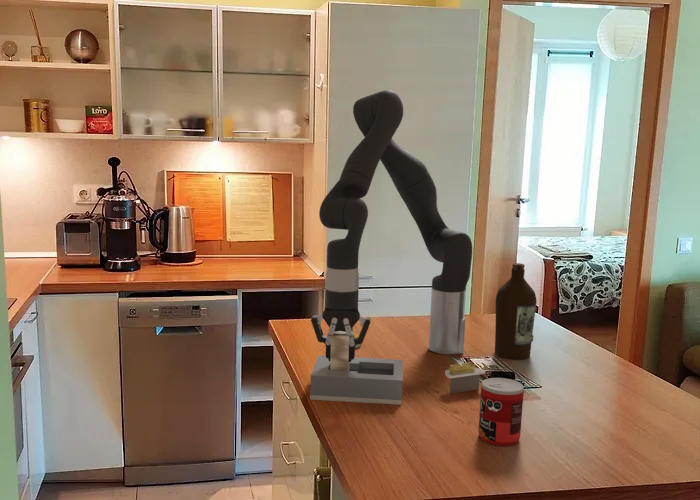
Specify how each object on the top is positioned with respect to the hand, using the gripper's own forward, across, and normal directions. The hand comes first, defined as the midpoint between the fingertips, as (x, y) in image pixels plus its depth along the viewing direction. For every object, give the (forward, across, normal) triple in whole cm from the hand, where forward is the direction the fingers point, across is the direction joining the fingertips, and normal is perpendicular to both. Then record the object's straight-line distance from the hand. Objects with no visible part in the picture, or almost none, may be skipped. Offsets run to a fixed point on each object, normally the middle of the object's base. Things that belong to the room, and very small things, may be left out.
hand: (340, 360), depth 154 cm
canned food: (+7, -33, +21) cm, 40 cm away
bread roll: (+7, +1, -34) cm, 35 cm away
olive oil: (+7, -44, -33) cm, 56 cm away
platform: (+8, -28, -4) cm, 30 cm away
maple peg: (+6, 0, 0) cm, 6 cm away
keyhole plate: (+7, -4, 0) cm, 8 cm away
